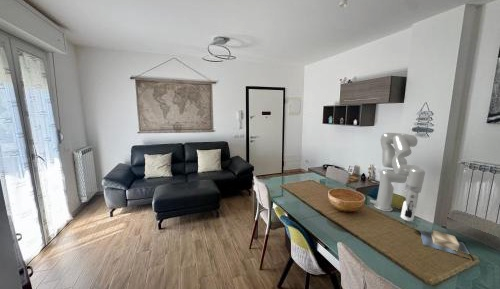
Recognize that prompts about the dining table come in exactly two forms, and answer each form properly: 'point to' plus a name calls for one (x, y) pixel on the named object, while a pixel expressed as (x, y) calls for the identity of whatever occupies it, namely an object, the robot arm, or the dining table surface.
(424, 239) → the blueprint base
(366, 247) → the dining table surface
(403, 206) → the can
